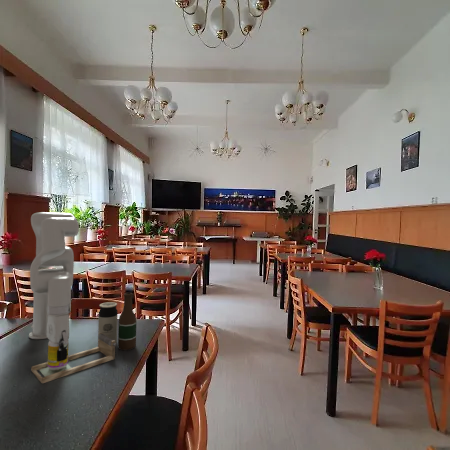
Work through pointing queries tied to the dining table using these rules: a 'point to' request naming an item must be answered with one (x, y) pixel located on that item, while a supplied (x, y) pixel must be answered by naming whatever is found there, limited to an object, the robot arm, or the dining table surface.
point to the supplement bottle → (55, 357)
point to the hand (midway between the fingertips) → (58, 356)
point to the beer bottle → (127, 325)
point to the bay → (104, 346)
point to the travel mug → (108, 320)
